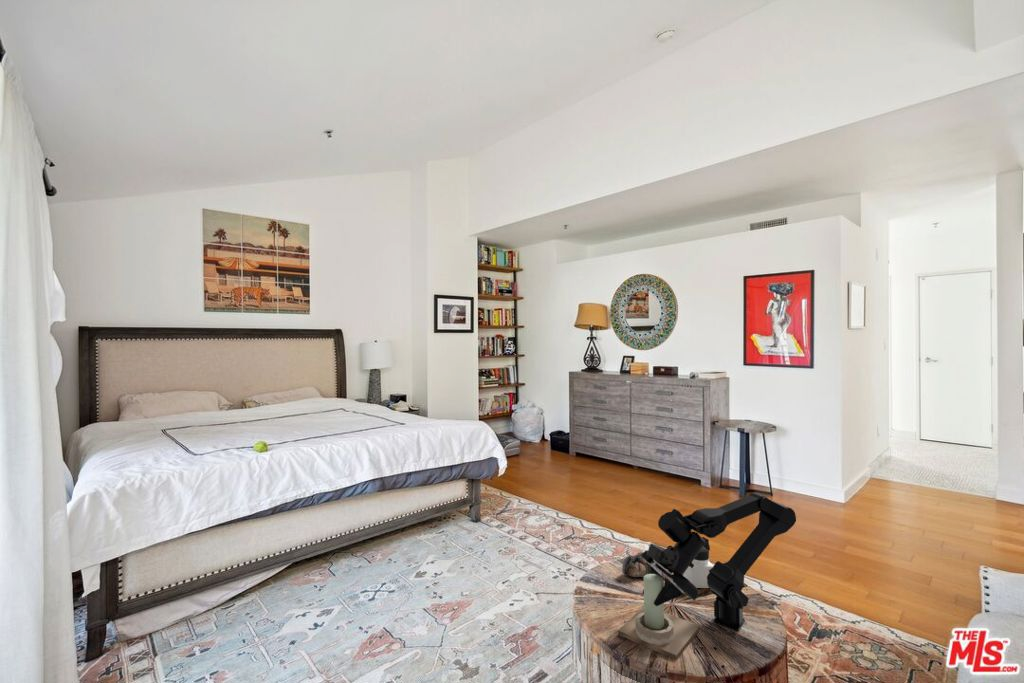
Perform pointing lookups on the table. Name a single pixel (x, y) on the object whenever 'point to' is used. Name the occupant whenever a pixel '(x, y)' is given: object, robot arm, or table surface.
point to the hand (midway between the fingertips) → (649, 599)
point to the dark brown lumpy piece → (635, 565)
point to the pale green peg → (651, 591)
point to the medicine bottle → (699, 569)
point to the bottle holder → (660, 634)
